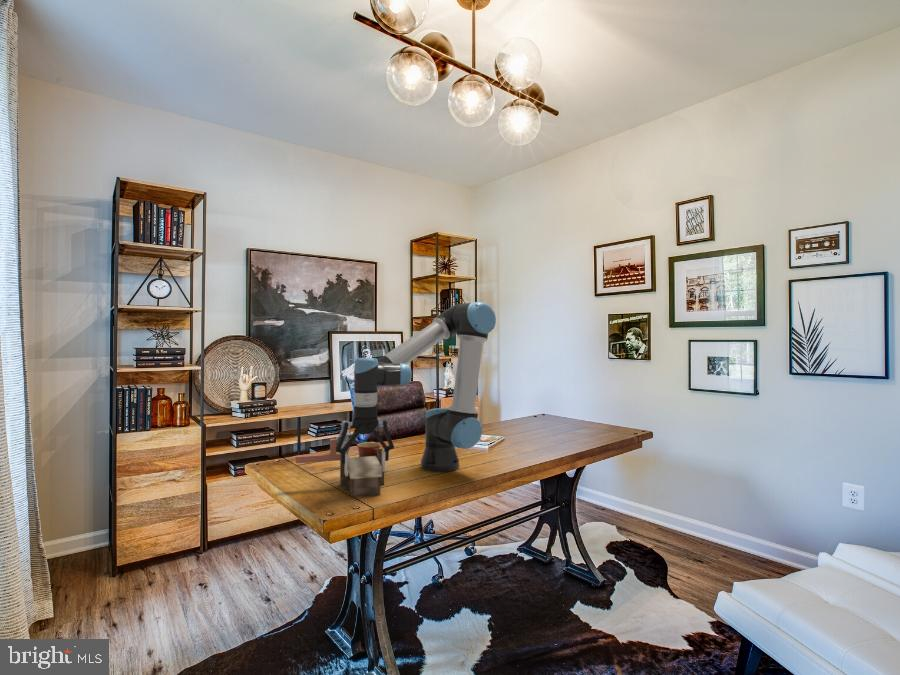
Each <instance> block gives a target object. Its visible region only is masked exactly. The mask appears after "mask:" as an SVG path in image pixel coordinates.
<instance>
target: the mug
mask: <svg viewBox="0 0 900 675" xmlns="http://www.w3.org/2000/svg"><path fill="white" fill-rule="evenodd" d="M356 445H357V446H356V448H357V450H358V457H368V456H376V457H377V459H378V449H381V446H382V445H381V444H380V442H375V441H365V442H360V443H357V444H356Z"/></svg>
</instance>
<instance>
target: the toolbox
mask: <svg viewBox="0 0 900 675" xmlns="http://www.w3.org/2000/svg"><path fill="white" fill-rule="evenodd" d="M382 450H384V448H380V449H378V461H379V463H380V464H381V466H382ZM339 461H340V462H339V488H340V490H346V489H348V490H349V492H350V497H351V498H362V497H371V496H373V497H374V496H381V487H385V472H383V471H382V477H372V478H359V479H350V476H349V473H348V475H345V464H342V463H341V460H339Z"/></svg>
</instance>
